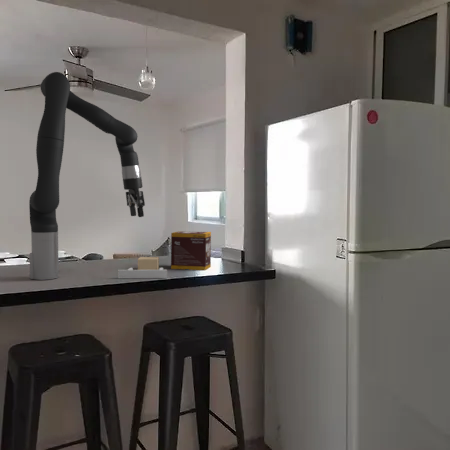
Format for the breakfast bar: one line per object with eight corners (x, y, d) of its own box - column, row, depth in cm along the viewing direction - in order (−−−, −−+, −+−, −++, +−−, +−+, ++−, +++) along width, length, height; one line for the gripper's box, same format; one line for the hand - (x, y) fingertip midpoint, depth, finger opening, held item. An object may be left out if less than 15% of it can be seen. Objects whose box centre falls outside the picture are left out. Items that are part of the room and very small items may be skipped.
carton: (137, 271, 185) (137, 259, 185) (140, 268, 192) (140, 257, 192) (157, 271, 185) (157, 259, 185) (158, 268, 193) (158, 257, 192)
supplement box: (205, 270, 187) (205, 233, 186) (170, 269, 190) (170, 232, 190) (211, 266, 197) (211, 231, 197) (178, 265, 201) (178, 230, 200)
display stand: (118, 278, 167) (118, 270, 167) (123, 272, 180) (123, 265, 180) (166, 278, 168) (166, 270, 168) (168, 272, 181) (168, 265, 181)
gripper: (117, 178, 187) (122, 217, 189) (129, 177, 175) (134, 218, 177) (134, 176, 191) (139, 214, 193) (147, 175, 179) (152, 215, 181)
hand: (137, 216), depth 185 cm, fingers open, 8 cm apart
